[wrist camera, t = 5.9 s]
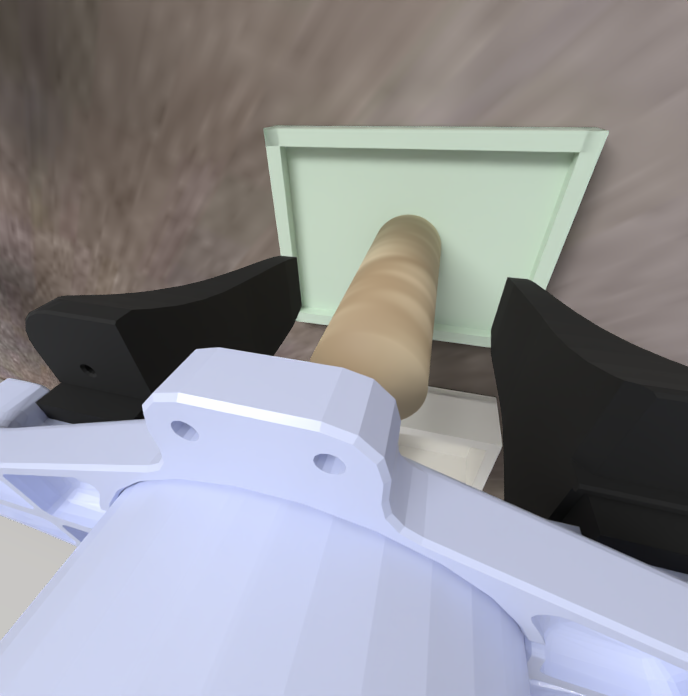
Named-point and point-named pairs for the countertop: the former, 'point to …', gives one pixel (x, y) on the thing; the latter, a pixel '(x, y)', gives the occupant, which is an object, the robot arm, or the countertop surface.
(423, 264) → the dowel
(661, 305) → the countertop surface
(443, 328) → the tray
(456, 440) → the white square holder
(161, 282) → the countertop surface
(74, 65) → the countertop surface
